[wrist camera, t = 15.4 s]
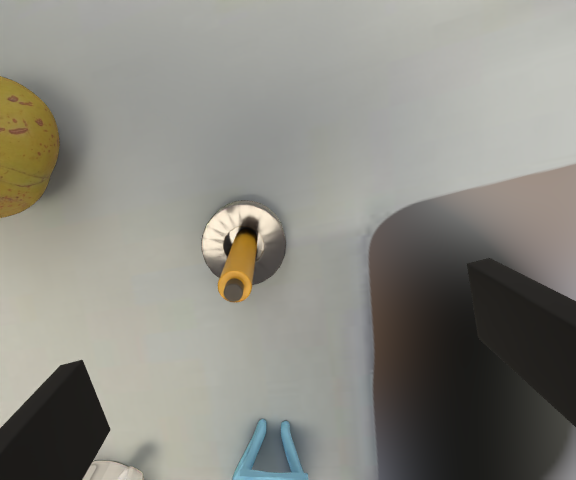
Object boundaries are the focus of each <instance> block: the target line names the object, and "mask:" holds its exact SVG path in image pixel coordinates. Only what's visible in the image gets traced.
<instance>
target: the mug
mask: <svg viewBox="0 0 576 480" xmlns="http://www.w3.org/2000/svg"><path fill="white" fill-rule="evenodd" d="M83 480H143V473H142V472H140V471H139V470H137V469H136V468H134V467H132V466H131V467H127V466H125V465H123V464H120V463H117V462H112V461H94V462H92V464H91V465H90V467H89V469H88V471H87V472H86V474H85V476H84V478H83Z"/></svg>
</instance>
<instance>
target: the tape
mask: <svg viewBox="0 0 576 480" xmlns="http://www.w3.org/2000/svg"><path fill="white" fill-rule="evenodd" d="M245 229H247V230H251V231H253V232H254V233H255V234H256V236H257V249H256V257H255V265H254V273H253V282H252V285H254V284H258V283H261V282H263V281H265V280H266V279H268V278H269V277H271V276H272V275H273V274H274V273H275V272H276V271H277V269H278V268H279V267H280V265H281V263H282V261H283V258H284V256H285V248H286V240H285V234H284V231H283V227H282V224H281V222H280V220H279V219H278V217H277V216H276V214H275V213H274V212H273V211H272V210H270V209H269V208H268V207H266V206H265V205H263V204H261V203H258V202H255V201H248V200H241V201H235V202H232V203H229V204H227V205H225V206H224V207H222V208H221V209H219V210H218V211H217V212H216V213H215V215H214V216H213V217H212V218H211V220H210V221H209V222H208V223H207V225H206V227H205V230H204V233H203V235H202V253H203V256H204V259H205V262H206V264H207V265H208V267H209V268H210V270H211V271H212V272H213V273H214V274H215V275H216V276H217V277H219V278H220V276H221V274H222V271H223V268H224V266H225V263H226V260H227V258H228V255H229V252H230V250H231V247H232V244H233V242H234V239H235V236H236V235H237V233H238V232H239V231H241V230H245Z"/></svg>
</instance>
